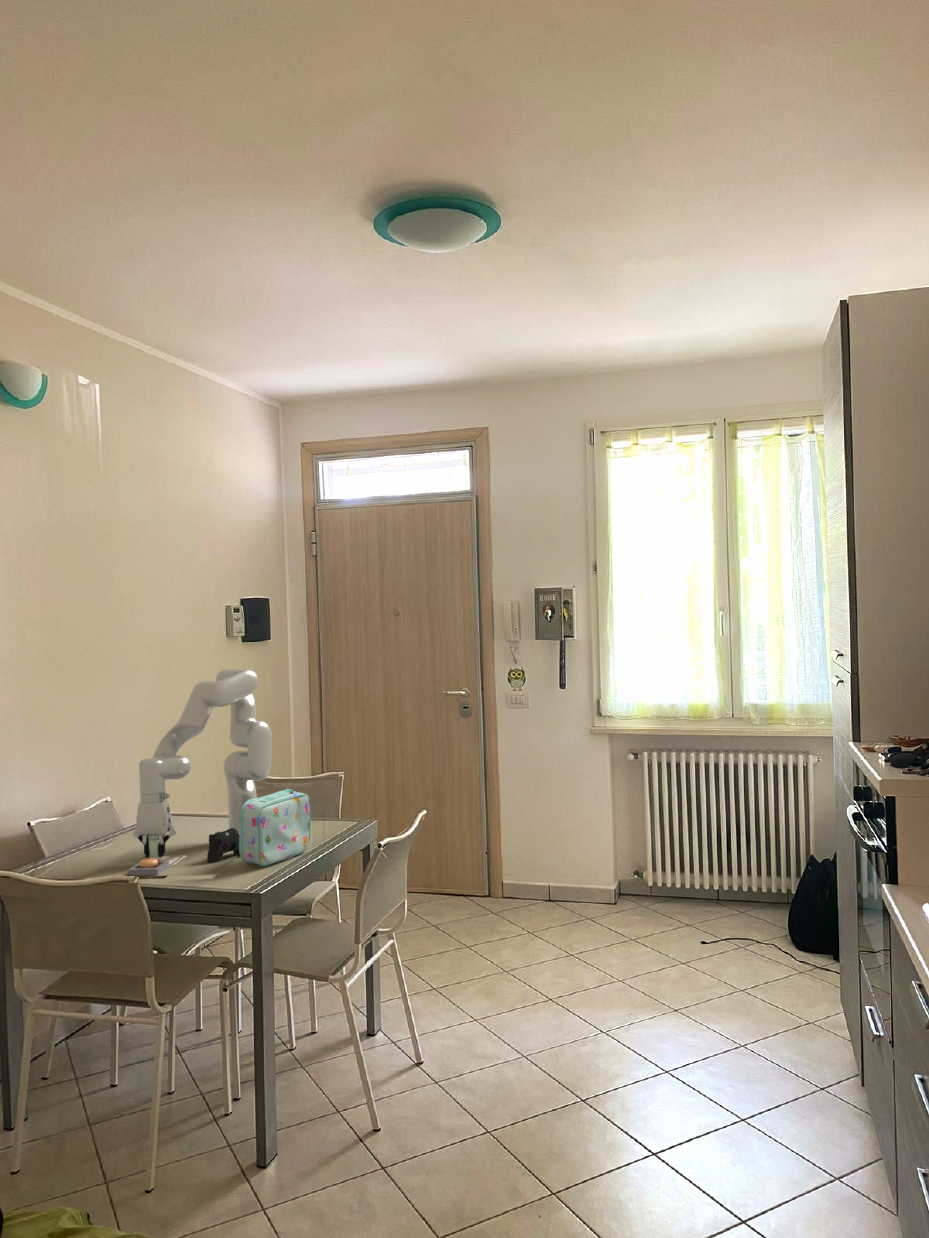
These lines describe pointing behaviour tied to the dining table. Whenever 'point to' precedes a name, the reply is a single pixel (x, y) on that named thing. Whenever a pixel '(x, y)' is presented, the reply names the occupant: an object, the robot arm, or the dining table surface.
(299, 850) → the lunch box
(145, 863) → the button
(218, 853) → the gaming controller
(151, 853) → the pale green cylinder
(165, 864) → the button housing
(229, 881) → the dining table surface
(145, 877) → the drawing board
